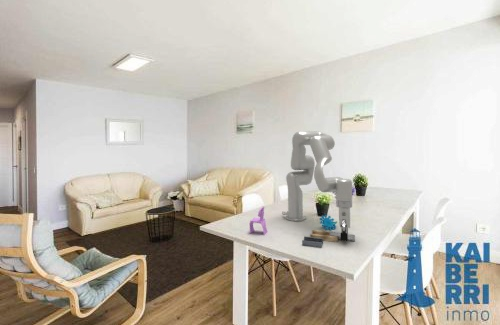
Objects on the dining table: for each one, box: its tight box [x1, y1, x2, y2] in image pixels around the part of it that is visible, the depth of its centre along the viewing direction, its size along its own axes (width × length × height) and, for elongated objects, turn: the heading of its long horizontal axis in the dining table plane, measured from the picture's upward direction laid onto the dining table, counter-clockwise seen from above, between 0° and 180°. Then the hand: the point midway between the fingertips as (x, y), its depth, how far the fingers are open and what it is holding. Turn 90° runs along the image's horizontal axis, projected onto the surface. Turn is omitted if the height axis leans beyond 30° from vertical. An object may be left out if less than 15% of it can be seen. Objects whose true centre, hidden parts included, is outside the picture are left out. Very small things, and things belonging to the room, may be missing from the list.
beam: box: [309, 229, 339, 243], centre depth 129 cm, size 13×8×3 cm, turn 68°
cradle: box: [301, 235, 324, 249], centre depth 121 cm, size 9×7×3 cm
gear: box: [319, 214, 338, 231], centre depth 146 cm, size 11×6×10 cm
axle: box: [328, 231, 356, 242], centre depth 127 cm, size 12×3×3 cm, turn 69°
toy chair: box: [249, 206, 269, 236], centre depth 140 cm, size 8×9×15 cm
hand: (344, 237), depth 126 cm, fingers open, 9 cm apart
